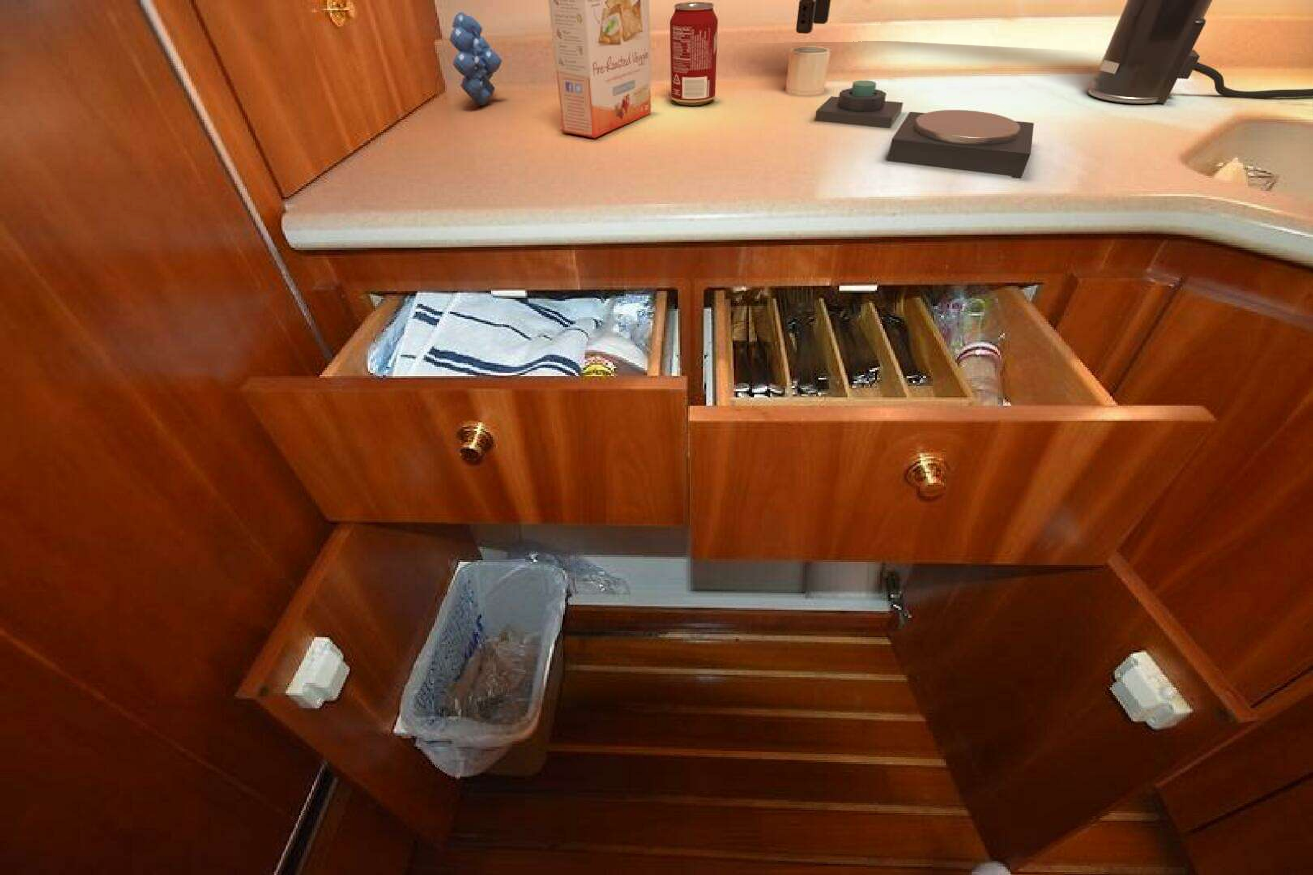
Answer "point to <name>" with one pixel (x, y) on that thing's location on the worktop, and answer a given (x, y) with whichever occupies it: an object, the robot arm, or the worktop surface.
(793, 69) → the cup
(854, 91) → the button
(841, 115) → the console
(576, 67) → the cracker box
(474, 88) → the grapes
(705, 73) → the soda can
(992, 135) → the scale
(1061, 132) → the worktop surface
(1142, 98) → the robot arm
